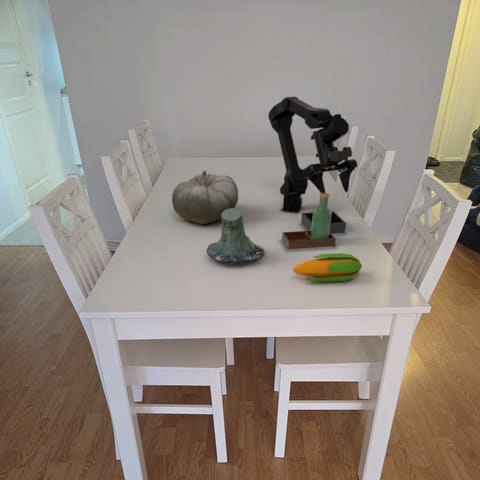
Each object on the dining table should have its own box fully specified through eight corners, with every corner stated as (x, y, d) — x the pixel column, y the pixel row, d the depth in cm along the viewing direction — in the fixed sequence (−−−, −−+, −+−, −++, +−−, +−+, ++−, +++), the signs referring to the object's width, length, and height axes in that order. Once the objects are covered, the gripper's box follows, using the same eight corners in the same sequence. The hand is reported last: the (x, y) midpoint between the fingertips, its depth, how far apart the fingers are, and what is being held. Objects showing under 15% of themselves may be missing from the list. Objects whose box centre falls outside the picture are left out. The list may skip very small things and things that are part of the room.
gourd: (252, 205, 175) (245, 161, 164) (224, 237, 158) (214, 191, 147) (197, 202, 185) (187, 160, 174) (165, 232, 169) (152, 188, 158)
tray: (301, 223, 166) (302, 212, 164) (332, 221, 168) (334, 211, 166) (311, 236, 156) (312, 225, 154) (344, 234, 158) (346, 223, 156)
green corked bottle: (308, 243, 149) (313, 196, 141) (312, 237, 154) (316, 190, 145) (326, 246, 148) (332, 198, 139) (329, 239, 152) (335, 192, 144)
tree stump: (271, 247, 149) (273, 199, 136) (253, 286, 137) (253, 238, 123) (219, 237, 154) (216, 190, 140) (197, 274, 141) (191, 226, 128)
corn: (368, 257, 124) (296, 261, 122) (364, 283, 128) (295, 287, 125) (358, 248, 130) (290, 251, 128) (355, 272, 134) (289, 276, 132)
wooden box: (281, 240, 153) (282, 232, 151) (326, 238, 155) (327, 229, 153) (288, 250, 146) (288, 242, 144) (334, 247, 148) (336, 238, 147)
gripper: (314, 140, 140) (326, 189, 141) (362, 135, 147) (373, 182, 148) (297, 153, 150) (307, 200, 151) (342, 148, 157) (352, 192, 158)
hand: (335, 193), depth 152 cm, fingers open, 9 cm apart
